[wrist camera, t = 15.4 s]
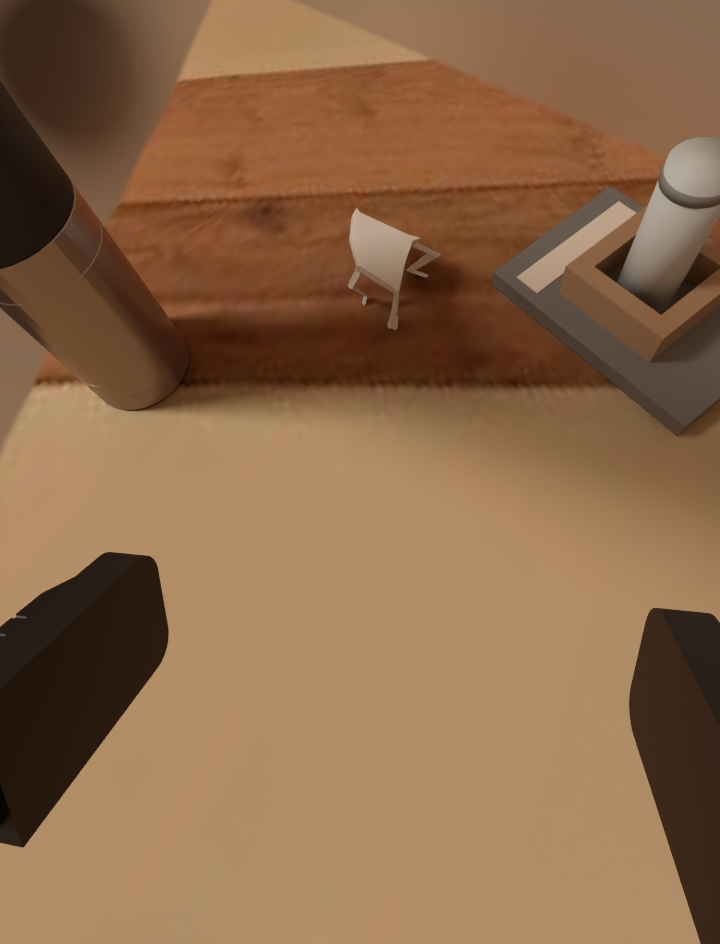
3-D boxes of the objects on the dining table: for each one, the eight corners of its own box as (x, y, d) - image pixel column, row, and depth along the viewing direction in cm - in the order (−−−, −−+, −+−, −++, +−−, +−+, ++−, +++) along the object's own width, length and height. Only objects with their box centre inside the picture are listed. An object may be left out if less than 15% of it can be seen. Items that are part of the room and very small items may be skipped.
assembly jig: (491, 284, 49) (496, 245, 45) (606, 199, 51) (620, 155, 47) (677, 435, 41) (703, 406, 37) (804, 329, 43) (841, 290, 39)
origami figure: (462, 293, 49) (464, 252, 45) (387, 345, 48) (382, 308, 44) (382, 221, 54) (377, 177, 50) (313, 266, 53) (301, 226, 49)
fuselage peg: (600, 293, 45) (649, 163, 34) (641, 263, 46) (702, 126, 35) (643, 327, 44) (710, 201, 33) (685, 295, 44) (764, 161, 33)
